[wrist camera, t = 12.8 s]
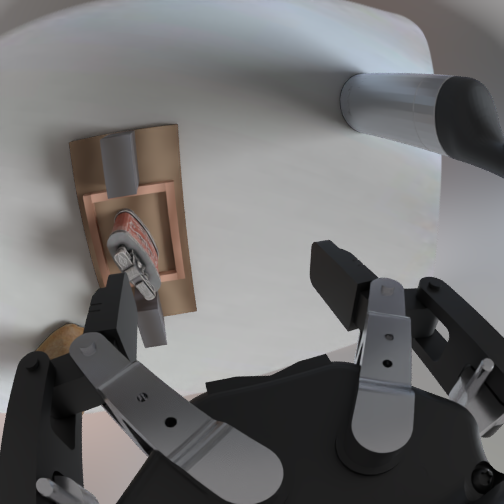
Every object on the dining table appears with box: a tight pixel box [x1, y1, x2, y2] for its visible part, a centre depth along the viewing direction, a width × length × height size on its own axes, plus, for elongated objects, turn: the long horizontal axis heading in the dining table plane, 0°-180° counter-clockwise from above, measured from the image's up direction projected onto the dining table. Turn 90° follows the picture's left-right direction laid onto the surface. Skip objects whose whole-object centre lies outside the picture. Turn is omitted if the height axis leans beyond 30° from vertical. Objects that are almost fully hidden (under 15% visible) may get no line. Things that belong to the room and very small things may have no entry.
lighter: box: [107, 208, 161, 300], centre depth 32 cm, size 8×3×10 cm, turn 22°
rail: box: [69, 124, 197, 348], centre depth 34 cm, size 13×26×8 cm, turn 0°
